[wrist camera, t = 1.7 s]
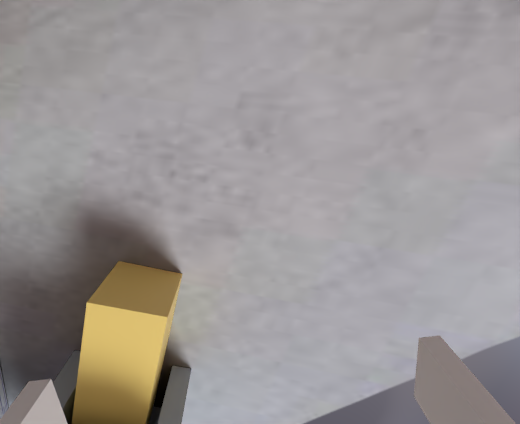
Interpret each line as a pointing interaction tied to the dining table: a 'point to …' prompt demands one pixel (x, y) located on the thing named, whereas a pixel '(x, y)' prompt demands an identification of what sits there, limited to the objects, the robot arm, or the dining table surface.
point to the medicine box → (2, 397)
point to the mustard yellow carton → (124, 345)
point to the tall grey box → (162, 419)
